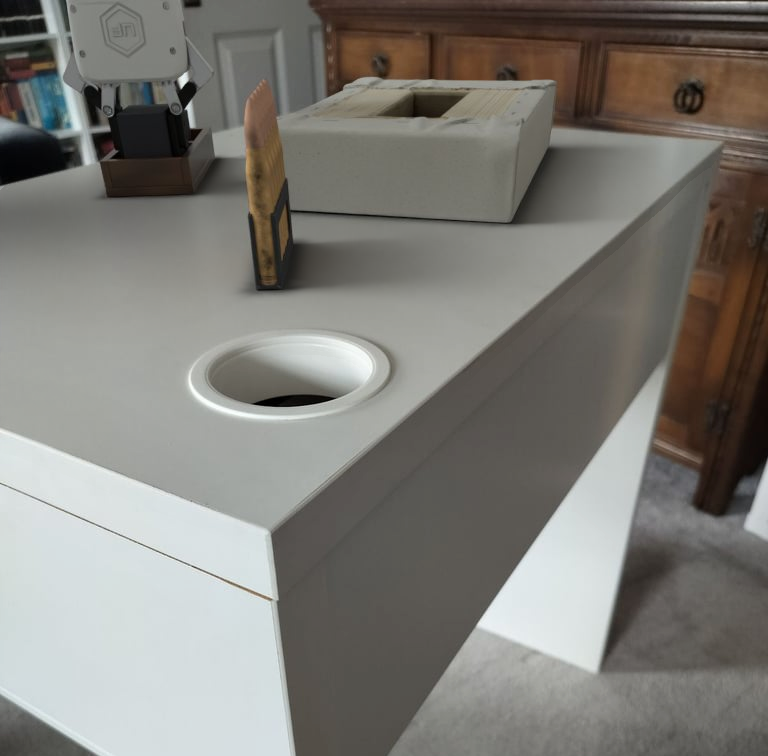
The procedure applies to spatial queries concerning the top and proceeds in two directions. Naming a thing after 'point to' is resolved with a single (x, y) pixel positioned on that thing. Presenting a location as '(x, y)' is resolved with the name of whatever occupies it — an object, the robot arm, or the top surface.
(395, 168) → the box
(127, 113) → the black block
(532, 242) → the top surface
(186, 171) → the tray
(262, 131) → the ammunition clip
